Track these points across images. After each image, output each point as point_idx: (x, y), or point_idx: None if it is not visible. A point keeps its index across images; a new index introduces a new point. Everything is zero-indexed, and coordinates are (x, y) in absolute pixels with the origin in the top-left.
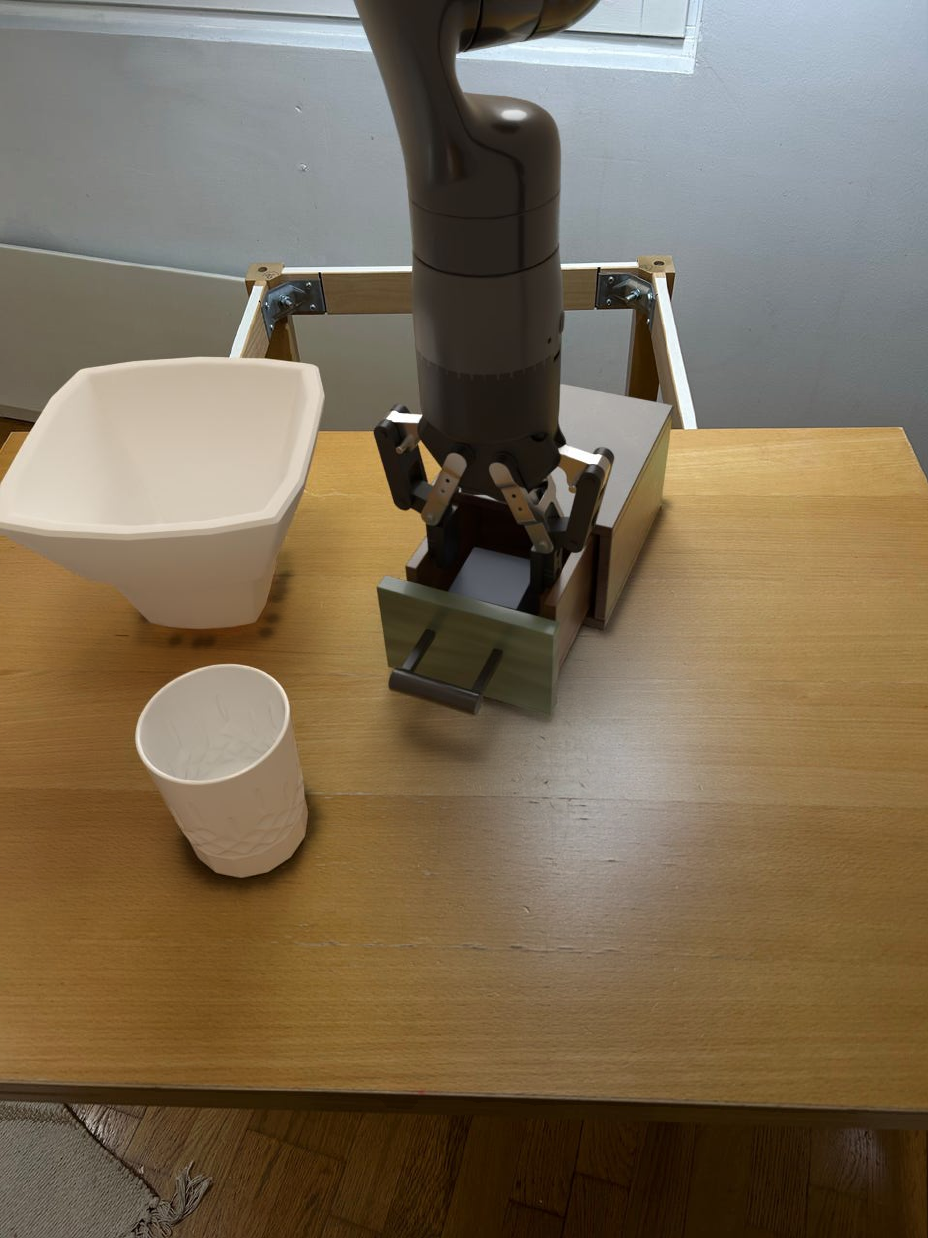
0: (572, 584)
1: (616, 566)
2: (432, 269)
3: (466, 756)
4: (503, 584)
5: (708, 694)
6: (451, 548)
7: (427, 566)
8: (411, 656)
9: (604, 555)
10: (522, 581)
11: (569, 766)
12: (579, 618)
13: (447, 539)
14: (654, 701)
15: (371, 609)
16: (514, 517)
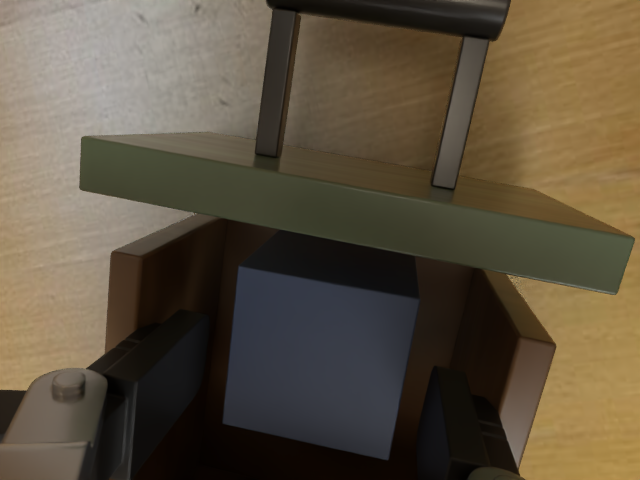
0: None
1: None
2: None
3: (340, 29)
4: (287, 343)
5: (9, 243)
6: (429, 424)
7: (492, 376)
8: (471, 86)
9: None
10: (246, 358)
11: (169, 52)
12: None
13: (438, 437)
14: (77, 214)
15: (602, 346)
16: (80, 463)
